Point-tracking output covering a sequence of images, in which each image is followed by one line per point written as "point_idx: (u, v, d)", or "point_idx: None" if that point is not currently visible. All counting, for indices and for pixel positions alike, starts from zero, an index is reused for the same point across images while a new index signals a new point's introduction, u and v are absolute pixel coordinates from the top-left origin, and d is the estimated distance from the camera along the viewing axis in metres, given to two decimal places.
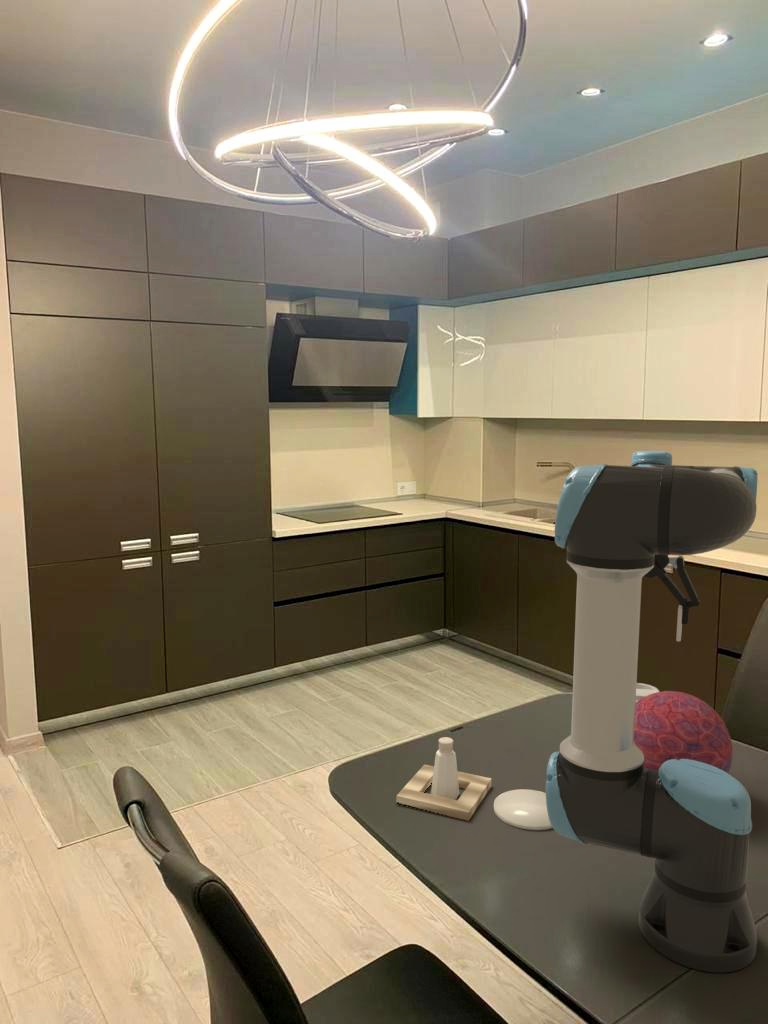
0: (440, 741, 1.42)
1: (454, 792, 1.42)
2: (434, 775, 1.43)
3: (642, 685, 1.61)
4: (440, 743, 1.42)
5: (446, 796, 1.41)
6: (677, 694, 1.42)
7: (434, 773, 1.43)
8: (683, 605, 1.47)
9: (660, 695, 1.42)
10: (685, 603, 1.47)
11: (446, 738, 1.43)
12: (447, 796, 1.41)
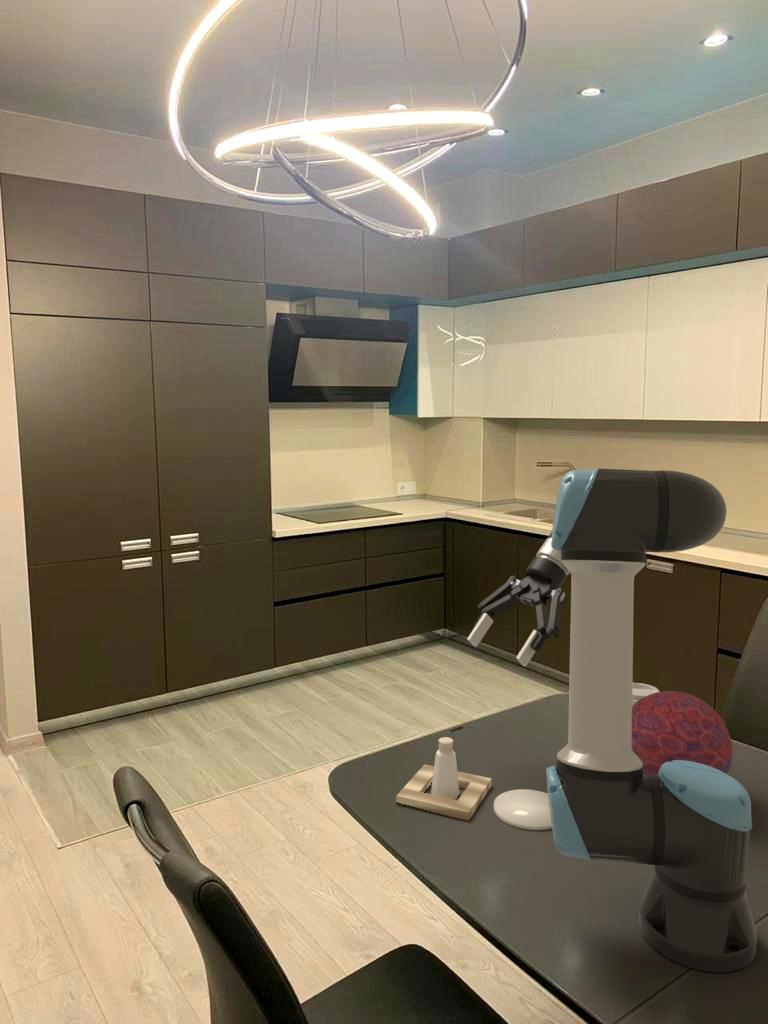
0: (440, 741, 1.42)
1: (454, 792, 1.42)
2: (434, 775, 1.43)
3: (642, 685, 1.61)
4: (440, 743, 1.42)
5: (446, 796, 1.41)
6: (677, 694, 1.42)
7: (434, 773, 1.43)
8: None
9: (660, 695, 1.42)
10: (542, 626, 1.43)
11: (446, 738, 1.43)
12: (447, 796, 1.41)
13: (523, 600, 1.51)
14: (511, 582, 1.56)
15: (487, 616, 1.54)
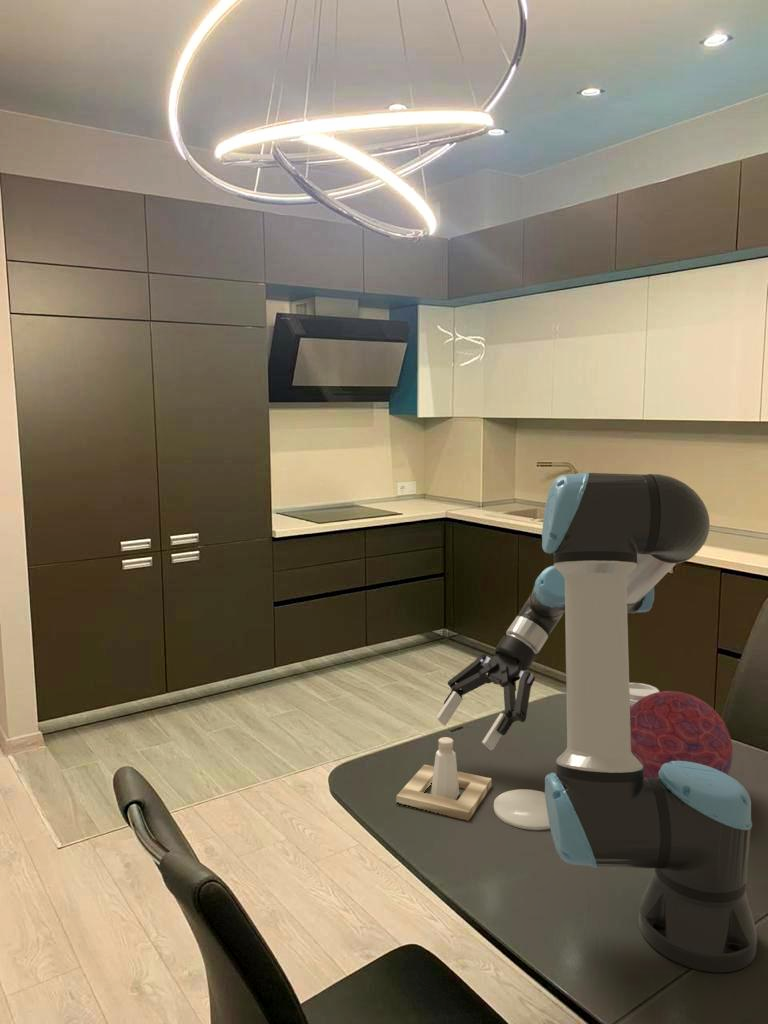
0: (440, 741, 1.42)
1: (454, 792, 1.42)
2: (434, 775, 1.43)
3: (642, 685, 1.61)
4: (440, 743, 1.42)
5: (446, 796, 1.41)
6: (677, 694, 1.42)
7: (434, 773, 1.43)
8: (506, 711, 1.42)
9: (660, 695, 1.42)
10: (508, 710, 1.42)
11: (446, 738, 1.43)
12: (447, 796, 1.41)
13: (492, 679, 1.50)
14: (481, 659, 1.55)
15: (456, 694, 1.53)
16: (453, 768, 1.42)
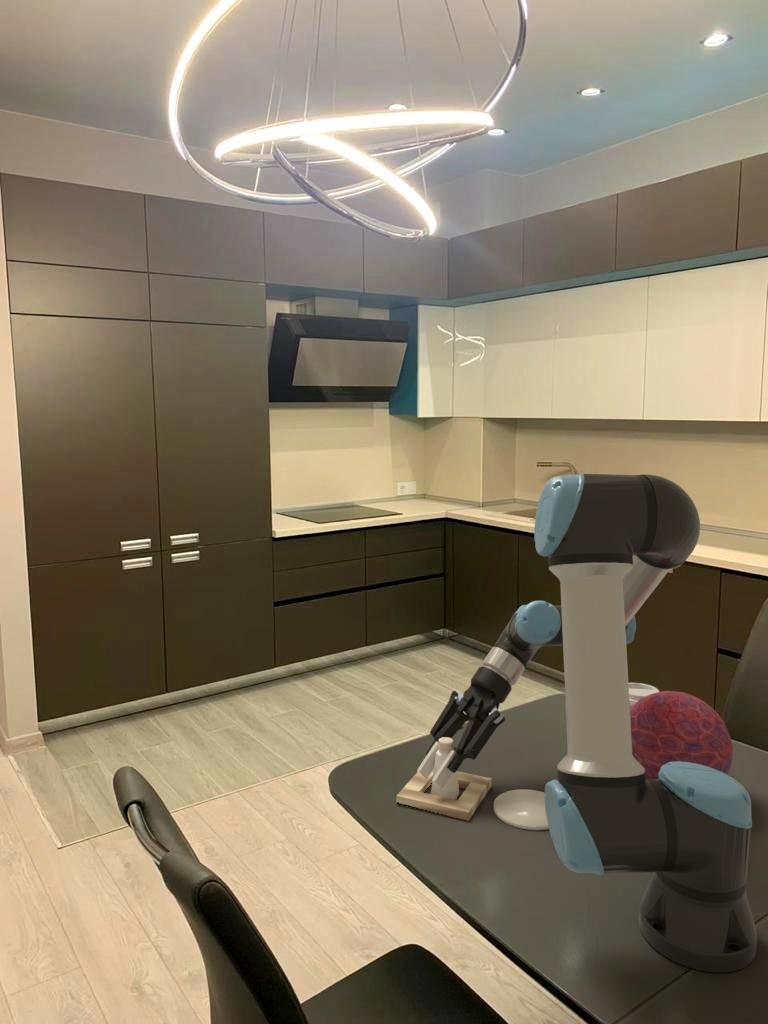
0: (440, 741, 1.42)
1: (454, 792, 1.42)
2: (434, 775, 1.43)
3: (642, 685, 1.61)
4: (440, 743, 1.42)
5: (446, 796, 1.41)
6: (677, 694, 1.42)
7: (434, 773, 1.43)
8: (457, 748, 1.41)
9: (660, 695, 1.42)
10: (460, 748, 1.40)
11: (446, 738, 1.43)
12: (447, 796, 1.41)
13: (467, 713, 1.46)
14: (455, 697, 1.50)
15: None
16: None
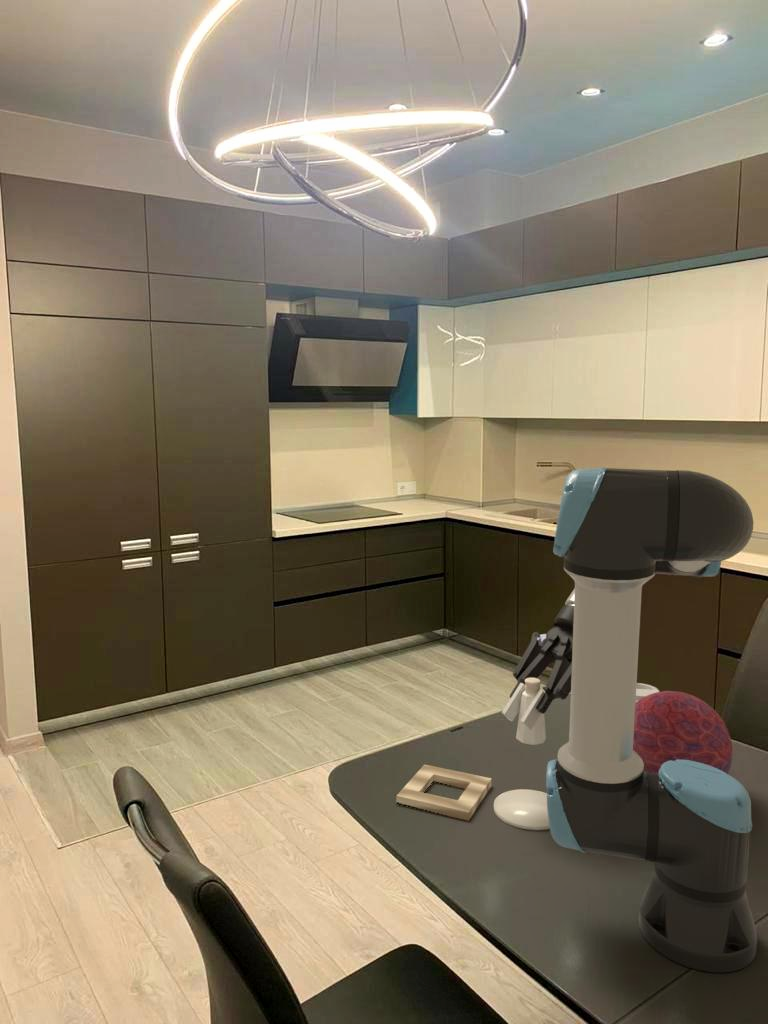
0: (527, 681, 1.35)
1: (542, 735, 1.34)
2: (520, 717, 1.35)
3: (642, 685, 1.61)
4: (527, 683, 1.34)
5: (534, 739, 1.34)
6: (677, 694, 1.42)
7: (520, 715, 1.36)
8: (546, 687, 1.33)
9: (660, 695, 1.42)
10: (549, 687, 1.33)
11: (532, 678, 1.36)
12: (535, 739, 1.34)
13: (552, 653, 1.39)
14: (537, 638, 1.42)
15: (524, 686, 1.37)
16: None
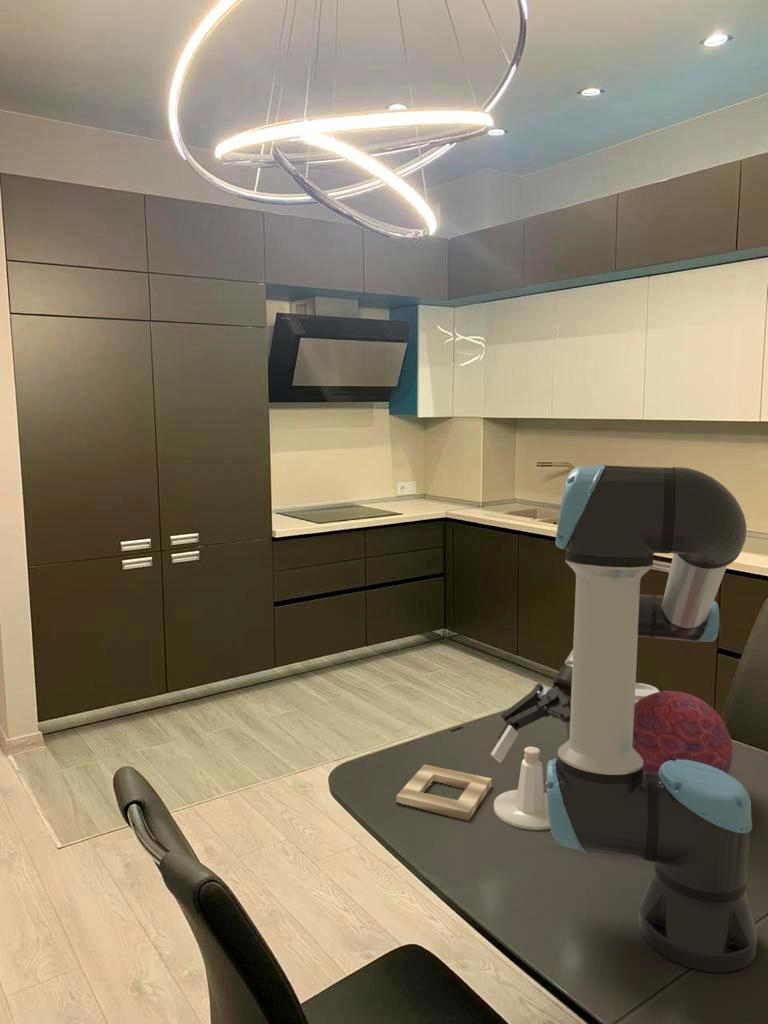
0: (526, 751, 1.36)
1: (541, 804, 1.36)
2: (520, 786, 1.37)
3: (642, 685, 1.61)
4: (526, 753, 1.36)
5: (533, 808, 1.36)
6: (677, 694, 1.42)
7: (520, 784, 1.37)
8: None
9: (660, 695, 1.42)
10: None
11: (532, 747, 1.37)
12: (534, 808, 1.36)
13: (551, 713, 1.40)
14: (538, 691, 1.45)
15: (512, 729, 1.43)
16: (540, 779, 1.36)
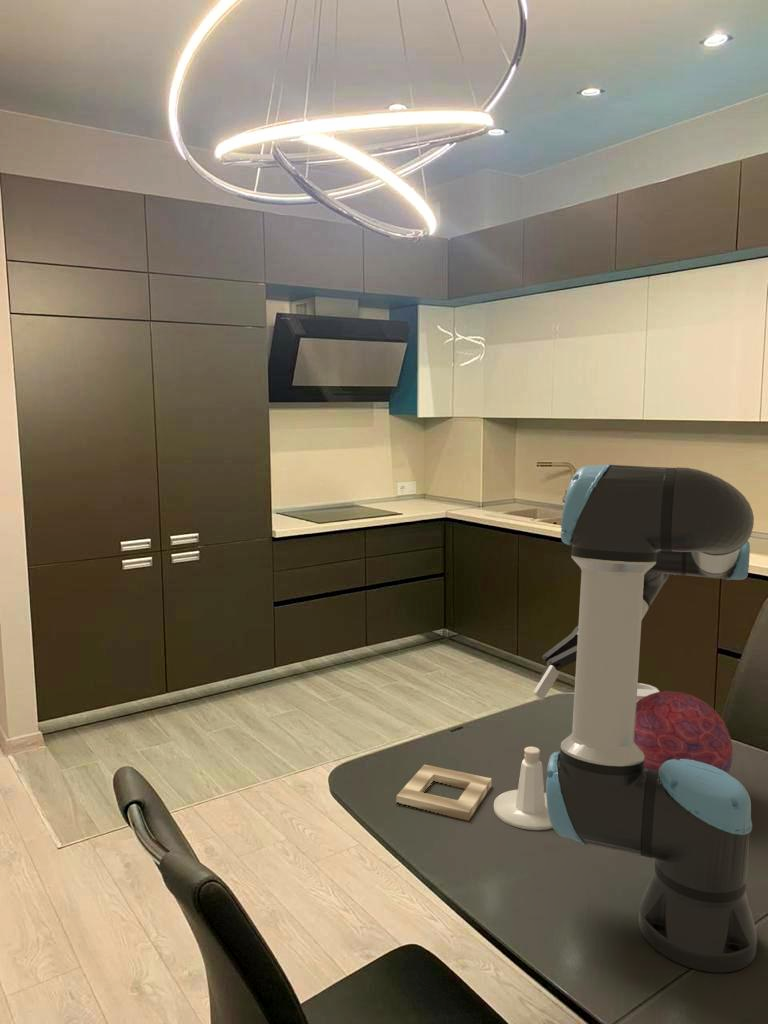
0: (526, 751, 1.36)
1: (541, 804, 1.36)
2: (520, 786, 1.37)
3: (642, 685, 1.61)
4: (526, 753, 1.36)
5: (533, 808, 1.36)
6: (677, 694, 1.42)
7: (520, 784, 1.37)
8: None
9: (660, 695, 1.42)
10: None
11: (532, 747, 1.37)
12: (534, 808, 1.36)
13: None
14: (577, 633, 1.50)
15: (553, 668, 1.48)
16: (540, 779, 1.36)
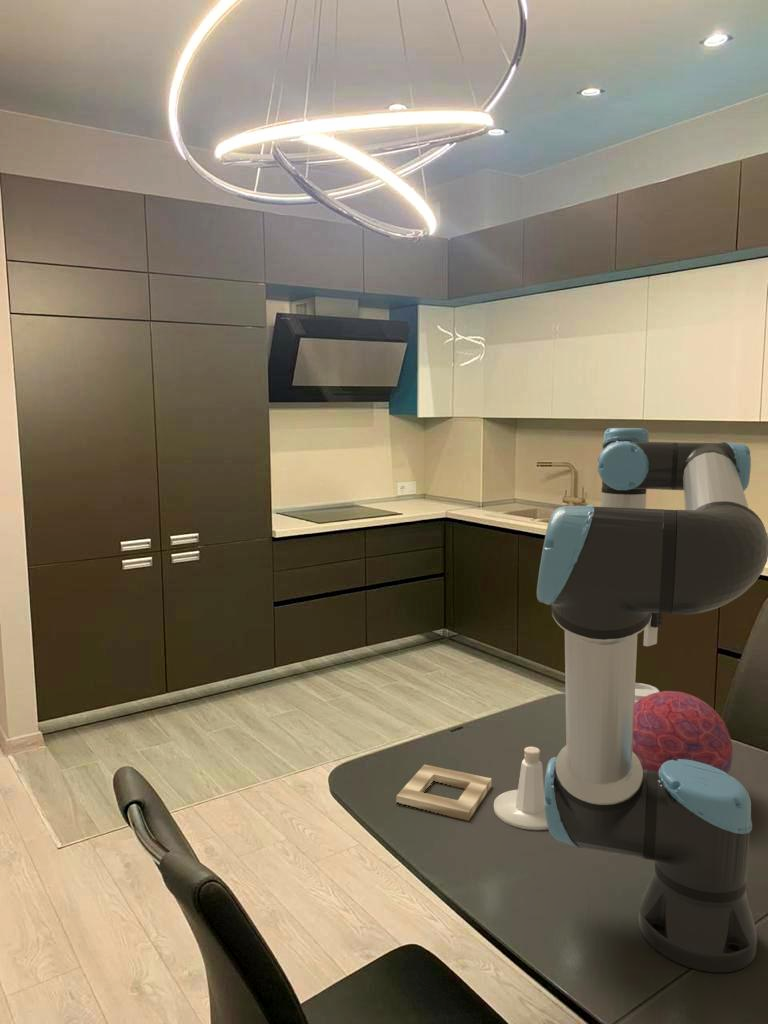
0: (526, 751, 1.36)
1: (541, 804, 1.36)
2: (520, 786, 1.37)
3: (642, 685, 1.61)
4: (526, 753, 1.36)
5: (533, 808, 1.36)
6: (677, 694, 1.42)
7: (520, 784, 1.37)
8: None
9: (660, 695, 1.42)
10: None
11: (532, 747, 1.37)
12: (534, 808, 1.36)
13: None
14: None
15: None
16: (540, 779, 1.36)
